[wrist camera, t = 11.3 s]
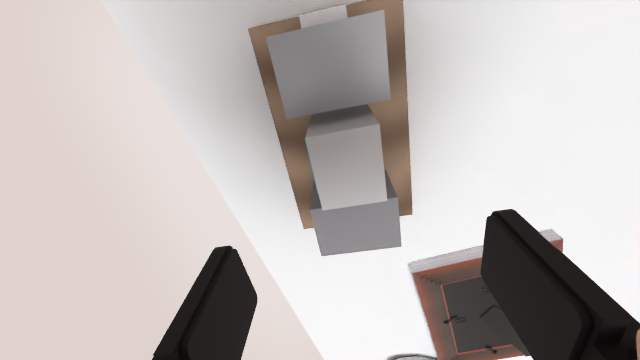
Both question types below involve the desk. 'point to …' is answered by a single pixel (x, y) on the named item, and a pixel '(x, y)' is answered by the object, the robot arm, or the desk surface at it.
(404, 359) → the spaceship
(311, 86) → the mounted modules
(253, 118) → the desk surface
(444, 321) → the picture frame
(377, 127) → the block
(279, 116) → the rail board
